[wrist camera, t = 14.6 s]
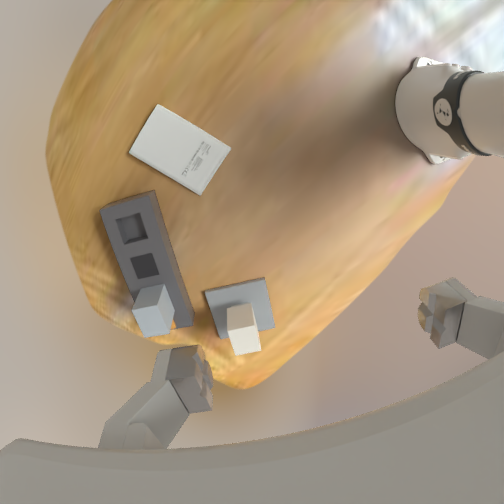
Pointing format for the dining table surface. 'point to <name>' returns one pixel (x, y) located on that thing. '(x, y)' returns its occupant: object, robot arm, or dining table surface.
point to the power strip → (146, 251)
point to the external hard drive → (179, 149)
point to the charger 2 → (243, 329)
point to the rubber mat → (236, 295)
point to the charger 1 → (154, 311)
